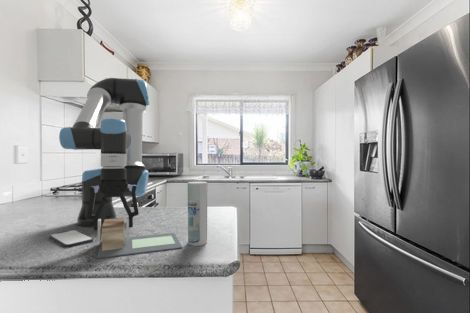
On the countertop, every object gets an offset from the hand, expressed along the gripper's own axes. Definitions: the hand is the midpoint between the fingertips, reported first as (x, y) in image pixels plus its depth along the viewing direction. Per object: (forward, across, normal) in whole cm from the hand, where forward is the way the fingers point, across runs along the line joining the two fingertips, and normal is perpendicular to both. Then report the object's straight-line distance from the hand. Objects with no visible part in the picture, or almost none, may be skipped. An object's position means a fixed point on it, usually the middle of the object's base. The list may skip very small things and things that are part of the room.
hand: (113, 238), depth 88 cm
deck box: (+2, 0, 0) cm, 2 cm away
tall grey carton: (+2, +26, -7) cm, 27 cm away
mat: (+2, +8, -2) cm, 9 cm away
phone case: (+3, -14, +12) cm, 19 cm away
